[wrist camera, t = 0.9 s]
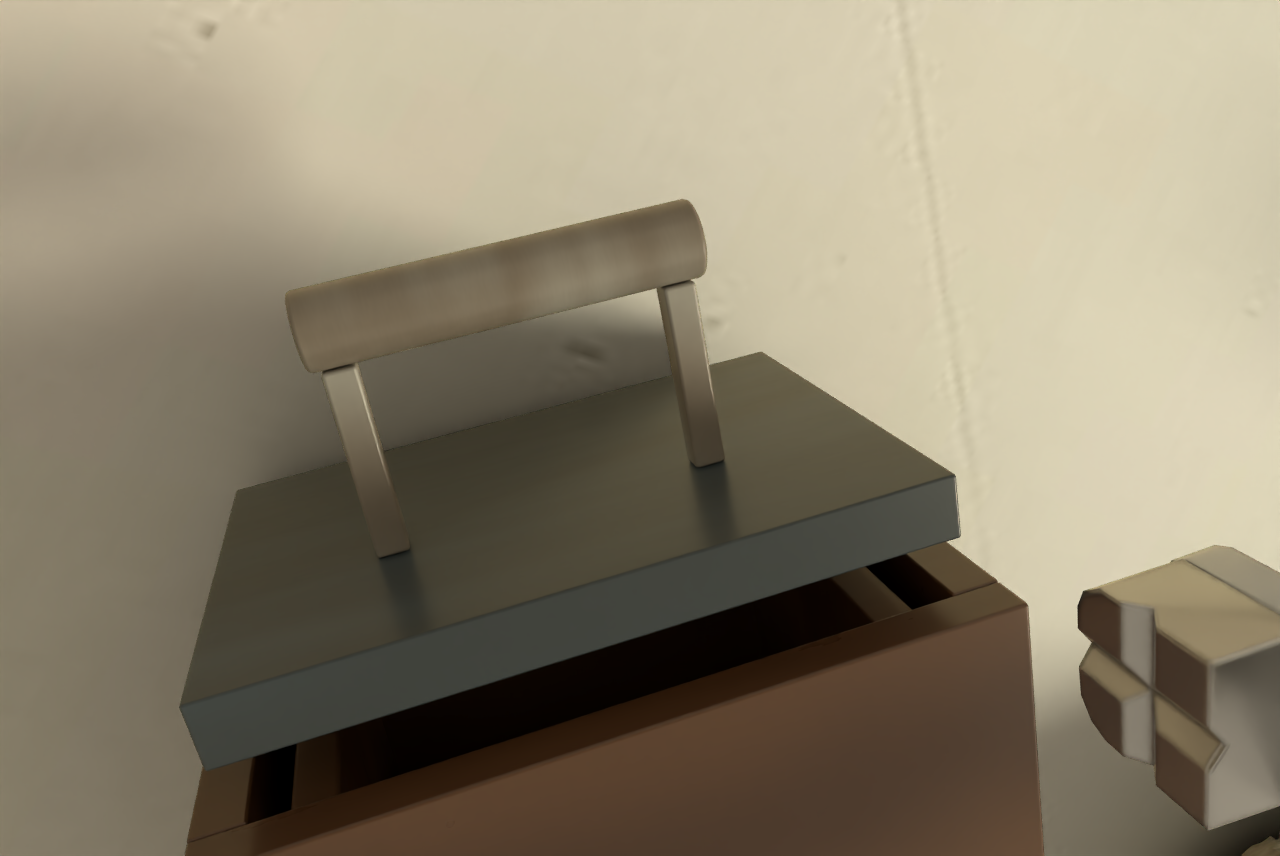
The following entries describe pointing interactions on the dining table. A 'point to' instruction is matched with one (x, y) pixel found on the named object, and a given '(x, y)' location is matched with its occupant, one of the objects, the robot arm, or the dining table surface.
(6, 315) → the dining table surface
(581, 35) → the dining table surface
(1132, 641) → the robot arm
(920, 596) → the cabinet
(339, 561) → the drawer
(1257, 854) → the bowl
